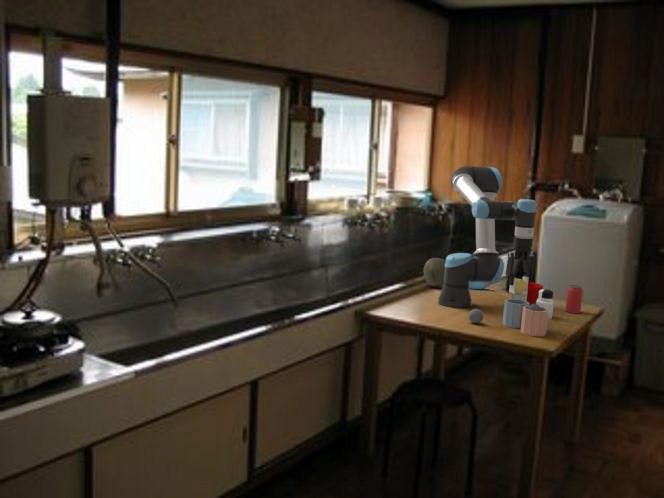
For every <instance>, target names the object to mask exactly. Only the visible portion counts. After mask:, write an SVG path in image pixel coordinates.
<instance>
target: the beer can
mask: <svg viewBox="0 0 664 498" xmlns="http://www.w3.org/2000/svg"><path fill="white" fill-rule="evenodd" d="M583 291H584V290H583V287H582V286H580V285H574V284H569V286H568V289H567V292H566V293H567V294H566V302H565V311H566V313H568V314H580V313H581V309H582V301H583V294H584V293H583Z"/></svg>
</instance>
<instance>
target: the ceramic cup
mask: <svg viewBox="0 0 664 498" xmlns="http://www.w3.org/2000/svg"><path fill="white" fill-rule="evenodd" d="M542 289H544V285H542V284H540V283H537V282H532V281H529V284H528V288H527V302H529V306H530V305H531V304H536V301H537V299H539V298H538V297H539V291H540V290H542Z"/></svg>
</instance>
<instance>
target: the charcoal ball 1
mask: <svg viewBox="0 0 664 498" xmlns="http://www.w3.org/2000/svg"><path fill="white" fill-rule="evenodd" d="M484 316H485V315H484V313H483V311H482V310H481V309H479V308H473V309H472V310H470V312H469V314H468V319H469V321H470V322H471V323H473V324H480V323H482V322H483V320H484Z"/></svg>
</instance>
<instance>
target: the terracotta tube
mask: <svg viewBox="0 0 664 498" xmlns="http://www.w3.org/2000/svg"><path fill="white" fill-rule="evenodd" d="M527 308H528V306H524V307H523V312H522V321H521V328H520V331H519V332H520V333H522V334H524V335H526V336H530V337H531V336H532V337H545V336H546V335H547V329H548V328H547V327H548V320H549V319H548V311H549V310H548V309H546V308H543V307H541V309H542V311H533V310H528V309H527Z"/></svg>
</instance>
